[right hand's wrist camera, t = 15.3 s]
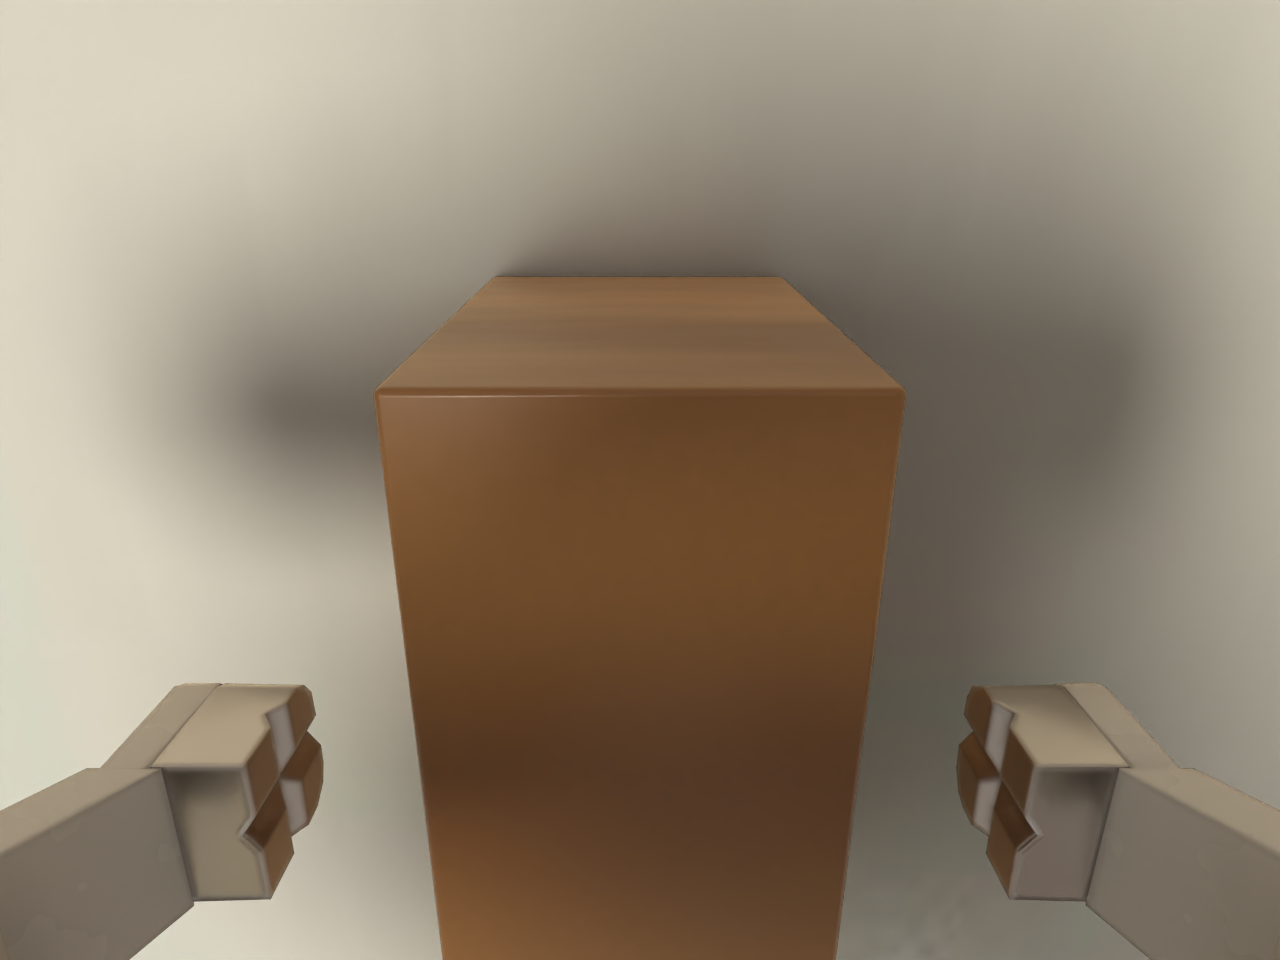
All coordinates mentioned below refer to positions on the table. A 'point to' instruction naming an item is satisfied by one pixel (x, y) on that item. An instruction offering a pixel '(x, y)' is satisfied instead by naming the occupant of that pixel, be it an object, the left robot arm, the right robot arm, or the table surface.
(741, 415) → the bar
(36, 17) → the table surface
